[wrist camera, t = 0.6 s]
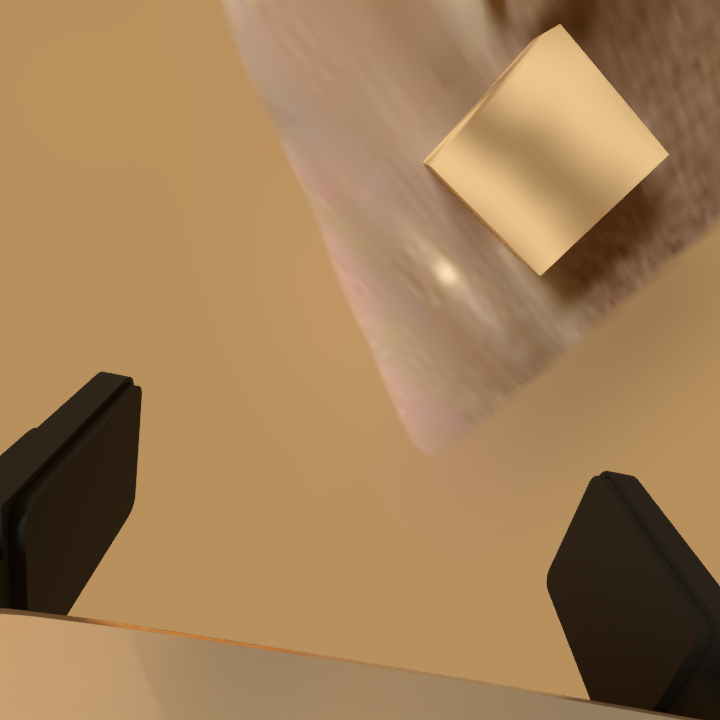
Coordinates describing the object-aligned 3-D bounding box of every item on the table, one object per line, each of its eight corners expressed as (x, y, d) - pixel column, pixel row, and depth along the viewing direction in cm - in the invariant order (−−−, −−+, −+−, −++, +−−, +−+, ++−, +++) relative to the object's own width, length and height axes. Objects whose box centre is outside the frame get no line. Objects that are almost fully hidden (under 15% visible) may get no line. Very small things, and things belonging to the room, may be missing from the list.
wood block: (531, 40, 31) (560, 23, 27) (627, 151, 34) (668, 154, 29) (422, 162, 34) (431, 166, 29) (517, 258, 36) (540, 276, 32)
